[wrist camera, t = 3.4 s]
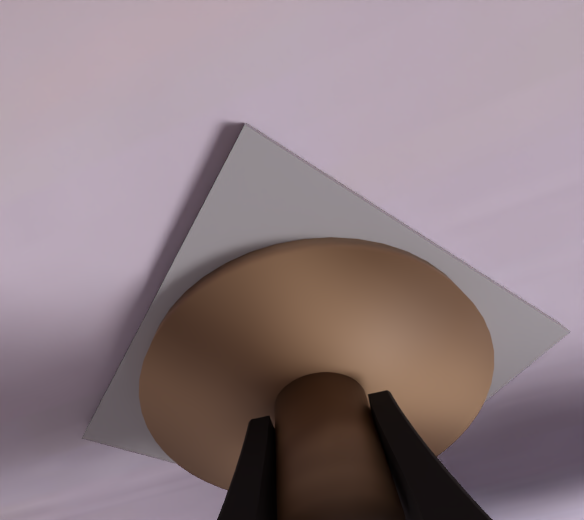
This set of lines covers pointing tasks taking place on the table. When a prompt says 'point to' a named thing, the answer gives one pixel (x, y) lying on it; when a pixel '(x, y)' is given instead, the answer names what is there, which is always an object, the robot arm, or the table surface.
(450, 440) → the lid
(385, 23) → the table surface
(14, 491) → the table surface
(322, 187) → the mat
